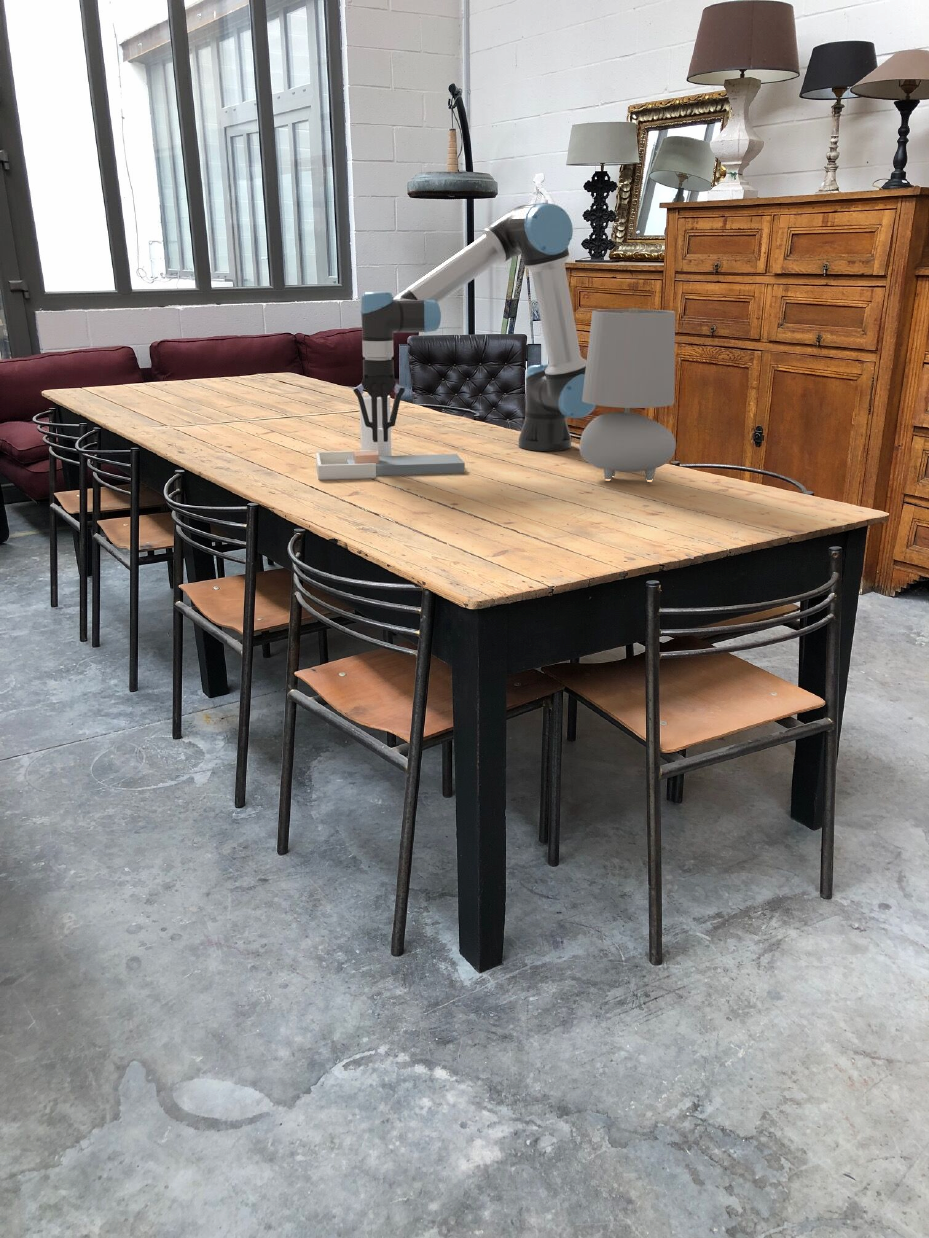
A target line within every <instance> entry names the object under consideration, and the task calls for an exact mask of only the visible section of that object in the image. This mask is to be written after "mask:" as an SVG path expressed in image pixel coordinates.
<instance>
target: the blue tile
mask: <svg viewBox="0 0 929 1238" xmlns="http://www.w3.org/2000/svg"><path fill="white" fill-rule="evenodd" d="M347 464H355V462H354V460H353V459H348V460H347ZM363 464H371V463H363Z"/></svg>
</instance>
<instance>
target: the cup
mask: <svg viewBox="0 0 929 1238" xmlns="http://www.w3.org/2000/svg"><path fill="white" fill-rule="evenodd" d="M362 396H363V399H364V403H365V407H366V410H367V414H368V418H369V421H370V422H372V410H371V396H370V395H369V394H362ZM387 410H388V422H389V421H390V416H391V412H392V409H391V396H390V395H388V396H387ZM359 421H360V422H359V423H360V424H359V427H360V430H359V431H360V451H366V450H370V451H377V442H374V441H373V439H372V428H370V427H366V425H365V423H364V419H363V415H362V412H361V408H360V407H359ZM377 424H378V427H377V428H382V400H381V397H377ZM384 456H393V455H392V427H390V428H388V441H387V442H384Z"/></svg>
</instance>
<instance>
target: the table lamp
mask: <svg viewBox="0 0 929 1238" xmlns="http://www.w3.org/2000/svg"><path fill="white" fill-rule="evenodd" d="M590 321H591V322H590V330H589V337H588V338H589V339H588V345H587V347H588V348H587V354H586V355H587V357H586V361H587V362H586V370H585V379H584V387H583V396H582V401H583V402H585V403H588V404H592V405H596V406H599V407H606V408H607V407H608V408H609V407H610V408H623V411H613V412H608V413H604V414H601V415H598V416H596V417H595V418H593V419H592V420H591V421H590V422H589V423H588V424H587V426H586V427H585V428H584V430H583V431H582V433H581V436H580V441H579V453H580V456H581V458H582V459H583V460H585V462H587V464H589V465H591V466H593V467H595V468H598V469H603V475H604V480H605V479H611V480H613V478H612V476H614V477H615V474H616V472H624V473H627V472H628V473H630V472H631V473H632V472H633V473H634V472H635V473H637V472H643V471H644V475H645V480H646V479H647V480H652V479H653V480H654V478H655V474H656V473H655V472H656V470H657V468H660V467H662V466H665V465H666V464H667V463H669V462H670V461H671V459H672V458H673V457H674V454H675V452H676V447H677V445H676V444H677V442H676V439H675V435H674V434H673V433H672V432H671V431H670V430H669V429H668V428H667V427H666V426H664V425H663V424H661V423H659V422H658V421H656V420H654V419H652V418H650V417H648V416H645V415H644V414H643V415H642V414H639V413H635V412H631V409H642V408H643V409H647V408H648V409H650V408H661V407H669V406H672V405H674V404H675V379H676V377H675V371H676V370H675V368H676V367H675V366H676V365H675V362H676V361H675V359H676V357H675V356H676V355H675V354H676V311H673V310H663V309H639V308H632V307H631V308H627V309H626V308H622V309H621V308H615V309H614V308H613V309H612V308H610V309H609V308H607V309H594V310H592V312H591V320H590Z"/></svg>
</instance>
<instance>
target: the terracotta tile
mask: <svg viewBox="0 0 929 1238" xmlns="http://www.w3.org/2000/svg"><path fill="white" fill-rule="evenodd" d="M352 451H353V460H354V462H355V464H363V463H379V454H378V453H377V451H361V450H352Z"/></svg>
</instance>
